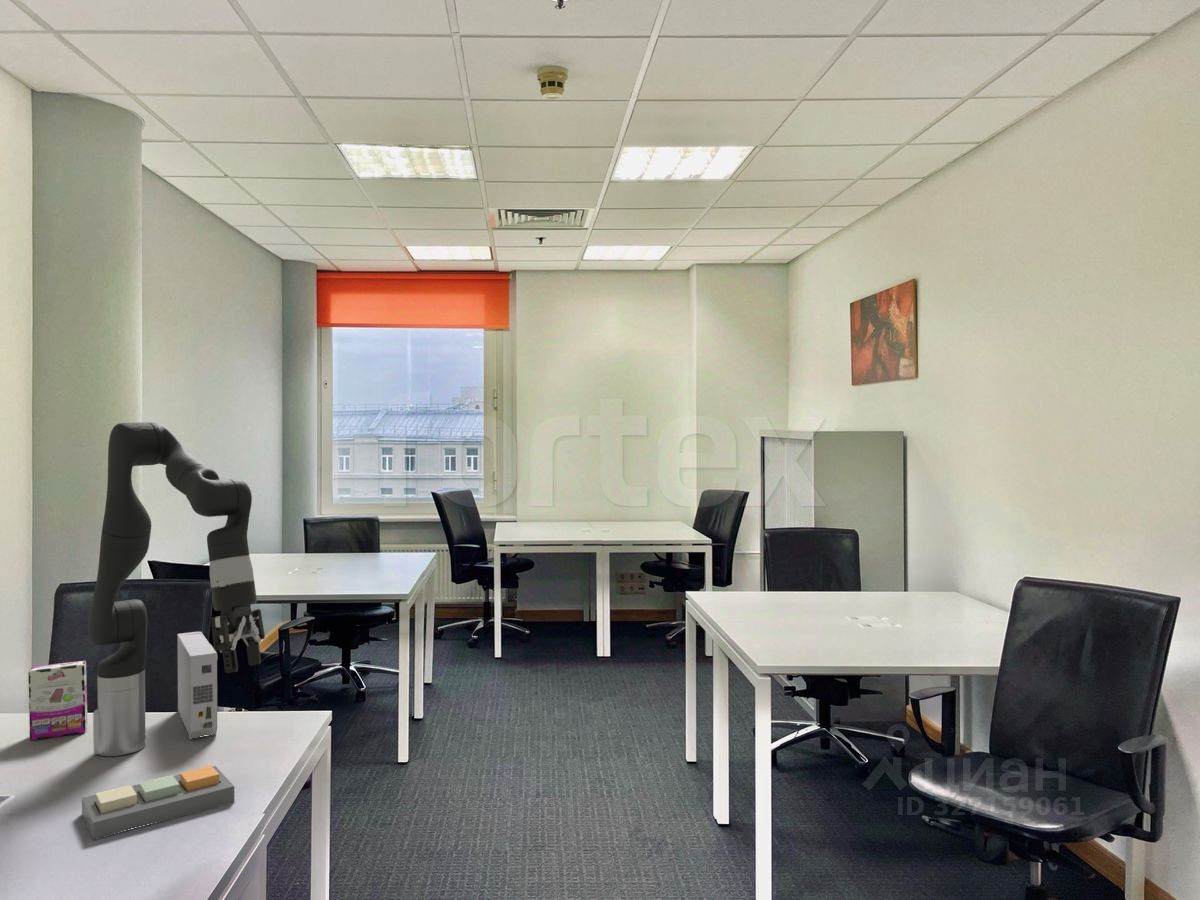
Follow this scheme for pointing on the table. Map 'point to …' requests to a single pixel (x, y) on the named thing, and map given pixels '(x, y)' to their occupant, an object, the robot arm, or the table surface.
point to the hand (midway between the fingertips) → (243, 668)
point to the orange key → (199, 778)
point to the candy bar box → (57, 700)
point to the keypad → (156, 807)
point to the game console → (197, 684)
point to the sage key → (158, 788)
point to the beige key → (116, 798)
